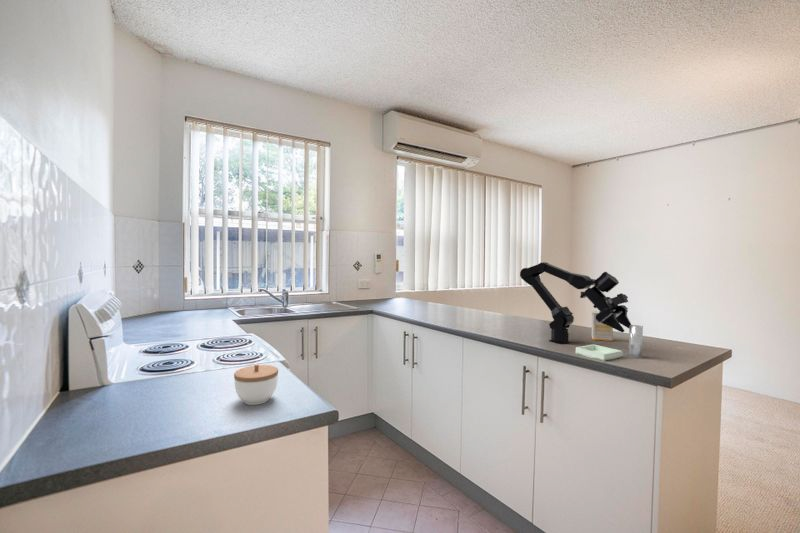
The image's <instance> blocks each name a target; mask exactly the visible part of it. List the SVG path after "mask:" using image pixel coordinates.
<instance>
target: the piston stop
mask: <svg viewBox="0 0 800 533" xmlns="http://www.w3.org/2000/svg"><path fill="white" fill-rule="evenodd" d="M643 329H644V327H643V325H638V324H631V325H629V328H628V357H629V358H633V359H642V357H643V335H644V330H643Z"/></svg>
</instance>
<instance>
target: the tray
mask: <svg viewBox="0 0 800 533" xmlns="http://www.w3.org/2000/svg"><path fill="white" fill-rule="evenodd" d="M575 354H576V355H579V356H583V357H587V358H590V359H594V360H598V361H601V362H607V360H608V361H612V360H616V359H621V358H623V350H620V349H615V348H611V347H607V346H603V345H598V344H587V345H583V346H581V345H580V346H576V347H575Z"/></svg>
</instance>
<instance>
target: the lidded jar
mask: <svg viewBox="0 0 800 533" xmlns="http://www.w3.org/2000/svg"><path fill="white" fill-rule="evenodd" d="M278 374H279V368H278V367H277V366H275V365H269V364H257V363H255V364H254V365H250V366H245V367H241V368H240V369H237V370H236V371H235V372H234V373H233V376H234V377H233V379H234V387H235V388H234V389H235V393H236V395H237V397H238V398H239V399H240V400H241V401H243V403H244V404H246V405H248V406H255V405H256V406H257V405H262V404H265V403H267V402H268V401H269V400H270V398H271V397H272V396H273V395H274V393H275V391H276V389H277V385H278V379H279V377H278Z"/></svg>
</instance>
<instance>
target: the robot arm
mask: <svg viewBox="0 0 800 533" xmlns="http://www.w3.org/2000/svg"><path fill="white" fill-rule="evenodd" d="M519 273H520V274H519V277H520V278H521V279H522V280H523V281H524V282H525V283H526V284H528V285H529V286H530V287H532V288H533V289H534V291H535V292H536V293H537V295H538V296H539V297H540V299H541V300H542V301H543V303H544V304H545V305H546V306H547V308H548V309H549V311H550V312H551V317H552V319H553V320H552V321H551V322H550V323H549V324H548V326H549V328H550V331H551V334H550V335H551V336H550V337H551V338H550V339H548V342H552V343H556V344H559V345H562V344H568V343H571V341H570V340H569V337H570V336H569V334H570V333H569V328H570V326H571V325H572V324H573V323H574V319H575V317H574V313H573V312H572V311H570V308H569V307H568V306H561V305H560V303H559V302H558V301H557V300H556V298H555V297H554V296H553V294H552V293H551V292H550V291H549V290H548V288H547V287H546V286H545V284H544V283H543V282H542V280H541V275H542V274H543V273H546V274H549V275H551V276H554V277H556V278H559V279H561V280H563V281H565V282H567V283H568V284H569V285H571V286H572V287H573V288H575V289H576V290H584V291H580V296H579V298H580V299H585V298H587V299H588V300H589V301H590V302H591V303H592V305H593V306H592V307H593V308H594V309H597V310H598V311H600V312H599V313H598V314H597V315H596V320H597V321H598V322H601V323H602V324H605V325H608V326H610V327H612V328H613V330H616V331H618V332H621V333H624V332H625V329H624V328H623V326H624V327H625V328H627V329H629V325H632V324H631V321H630V319H629V318H628V312H629V311H628V309H629V308H628V307H627V306H626V305H624V303H625V304H626V303H629V299H628V298H629V297H628V295H626V294H623V293H619V294H617V295H616V296H614V297H610V296H606V295H605V294H604V293H609V292H611V290H613V289H614V288H615V287H616V286H617V285H618V284H620V281H619V279H617V278H616V277H615V276H613V275H612V274H610V273H609V272H607V271H604V272H603V273H601V275H600V276H599V277H597V278H595V279H593V278H591V277H590V276H589V275H585V274H580V273H574V272H570V271H568V270H565V269H562V268H560V267H557V266H556V265H554V264H550V263H548V262H543V261H542V262H539V263H538V264H536V265H533V266H530V267H524V268H522V269H521V270H520V272H519ZM591 286H592V287H591ZM603 320H604V321H603Z"/></svg>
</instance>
